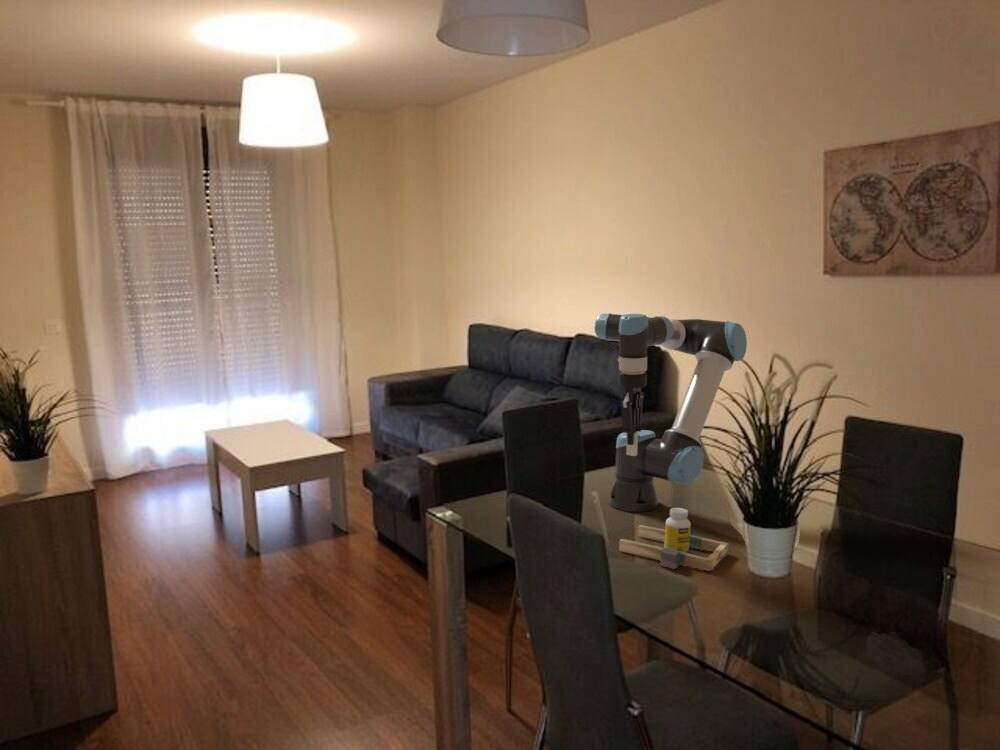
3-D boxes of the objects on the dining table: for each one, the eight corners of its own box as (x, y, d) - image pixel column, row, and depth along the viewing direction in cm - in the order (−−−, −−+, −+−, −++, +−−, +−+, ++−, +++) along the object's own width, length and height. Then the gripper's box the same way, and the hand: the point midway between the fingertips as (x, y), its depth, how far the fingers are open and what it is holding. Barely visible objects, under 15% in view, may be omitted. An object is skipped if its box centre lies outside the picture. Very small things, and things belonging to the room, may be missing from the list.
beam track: (640, 534, 230) (640, 521, 229) (727, 553, 217) (728, 539, 216) (613, 555, 215) (614, 540, 215) (706, 577, 202) (706, 562, 201)
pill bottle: (671, 558, 213) (674, 515, 211) (659, 549, 219) (661, 507, 217) (693, 555, 215) (696, 513, 213) (680, 547, 221) (683, 505, 219)
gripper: (628, 366, 229) (627, 446, 234) (611, 375, 218) (610, 459, 222) (653, 368, 225) (652, 450, 230) (637, 377, 214) (636, 463, 219)
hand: (631, 454), depth 226 cm, fingers closed
